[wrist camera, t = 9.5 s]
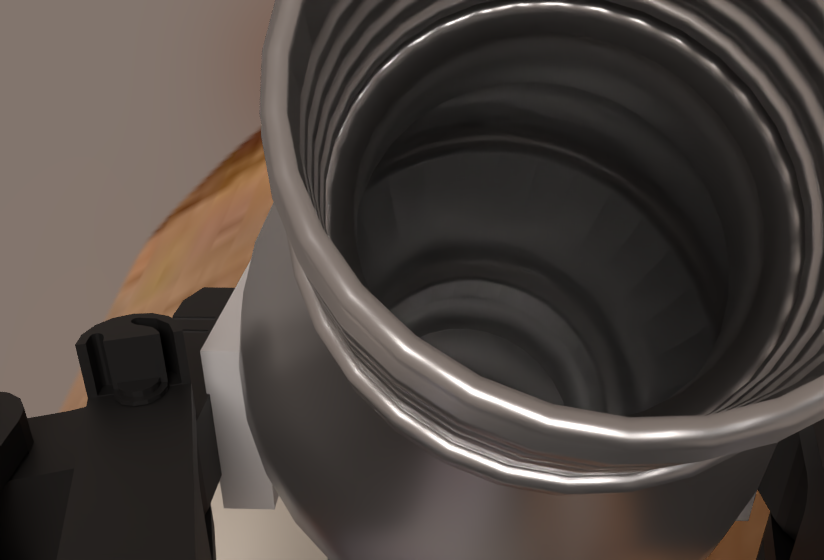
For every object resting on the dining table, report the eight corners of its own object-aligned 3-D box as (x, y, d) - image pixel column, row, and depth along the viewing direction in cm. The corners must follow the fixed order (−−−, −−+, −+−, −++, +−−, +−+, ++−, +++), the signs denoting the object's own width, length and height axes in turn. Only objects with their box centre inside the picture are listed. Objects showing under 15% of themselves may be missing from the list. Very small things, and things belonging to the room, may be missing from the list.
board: (184, 330, 43) (173, 323, 41) (423, 413, 40) (422, 408, 39) (20, 689, 37) (1, 697, 35) (289, 807, 35) (281, 821, 33)
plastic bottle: (364, 585, 21) (-131, 1078, 2) (342, 362, 23) (-7, -321, 5) (579, 555, 21) (1752, 792, 2) (537, 336, 24) (991, -425, 5)
